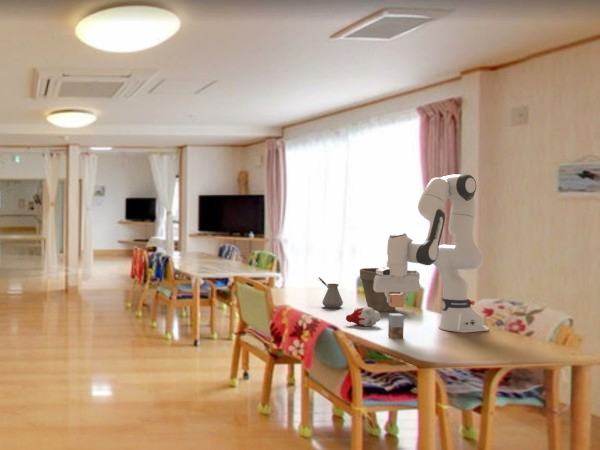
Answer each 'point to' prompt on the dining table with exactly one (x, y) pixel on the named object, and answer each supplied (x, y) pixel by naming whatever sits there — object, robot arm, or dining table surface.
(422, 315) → the dining table surface
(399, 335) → the tower base
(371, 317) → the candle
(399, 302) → the terracotta block
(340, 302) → the coffee pot
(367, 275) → the plant pot
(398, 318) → the block
